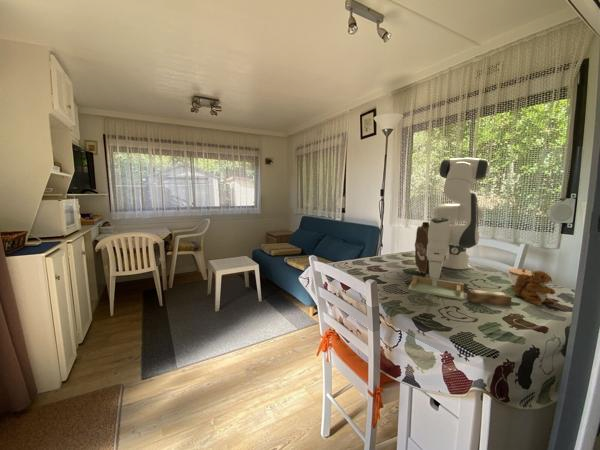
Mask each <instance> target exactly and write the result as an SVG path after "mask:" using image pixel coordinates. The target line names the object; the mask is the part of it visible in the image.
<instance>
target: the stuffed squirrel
mask: <svg viewBox="0 0 600 450" xmlns="http://www.w3.org/2000/svg"><path fill="white" fill-rule="evenodd" d="M530 271H531V270H530ZM531 274H532V276H529V275H525V274H521V275H519V276H518V278H517V281H516V284H515V285H513V286H515V287H514V288H513V289H512V291H513V292H514V294H515V295H516V297H520V298H523V299H524V300H525V301H526V302H527V303H530V304H532V305H535V306H539V307H541V306H542V305H543V304H542V303H549V302H554V300H553V299H552V298H550V297H548V294H550V295H556V291H555V289H554V288H552V287H549V286H547V285H548V284H549V283H552V282H553V279H552V276H550V275H549V274H548V273H547V272H545V271H543V270H535V271H534V270H532V271H531Z"/></svg>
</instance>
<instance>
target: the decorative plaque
mask: <svg viewBox="0 0 600 450" xmlns="http://www.w3.org/2000/svg"><path fill="white" fill-rule="evenodd" d="M429 224H430V221H428V222H427V221H426V222H425V221H423V222H422V224H421V226H417V228H416V233H415V235H416V237H415V243H414V249H415V251H414V261H415V262H414V263H415V265H416V267H417V268H418V269H417V270H418V271H419V272H418V273H419V276H420V275H422V276H421V277H426V275H429V260H427V258H428V257H427V245H428V229H429Z"/></svg>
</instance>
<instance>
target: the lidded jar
mask: <svg viewBox="0 0 600 450" xmlns="http://www.w3.org/2000/svg"><path fill="white" fill-rule="evenodd" d="M521 274H525V275H529V276H532V274H531V270H527V269H526V268H522V269H521V268H511V269H508V279H509V282H510V283H511V285H512V286H514V285H515V284H516V281H517V278H518V276H519V275H521ZM514 287H515V286H514Z"/></svg>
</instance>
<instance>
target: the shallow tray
mask: <svg viewBox="0 0 600 450" xmlns="http://www.w3.org/2000/svg"><path fill="white" fill-rule="evenodd" d="M407 289H408V291H414V292H419V293H423V294H428V295H433V296H434V295H435V296H439V297H444V298H451V299H455V300H459V301H460V300H461V301H464V299H465V297H464V291H465V290H464V289H465V283H464V282H463V283H462V282H456V281H450V280H443V279H438V280H437V286H432V278H430V277H426V276H420V275H414V274H413V275H412V276H411V282H410V284H409V285H408V288H407Z"/></svg>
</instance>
